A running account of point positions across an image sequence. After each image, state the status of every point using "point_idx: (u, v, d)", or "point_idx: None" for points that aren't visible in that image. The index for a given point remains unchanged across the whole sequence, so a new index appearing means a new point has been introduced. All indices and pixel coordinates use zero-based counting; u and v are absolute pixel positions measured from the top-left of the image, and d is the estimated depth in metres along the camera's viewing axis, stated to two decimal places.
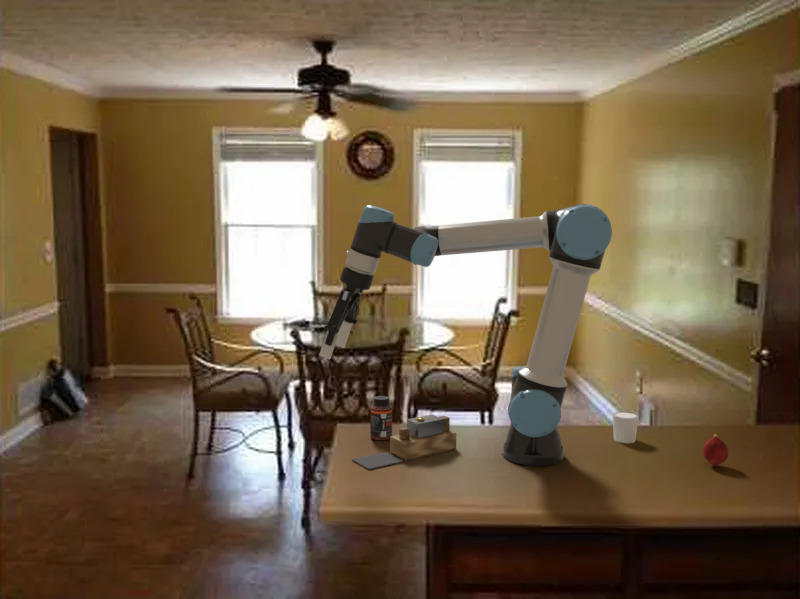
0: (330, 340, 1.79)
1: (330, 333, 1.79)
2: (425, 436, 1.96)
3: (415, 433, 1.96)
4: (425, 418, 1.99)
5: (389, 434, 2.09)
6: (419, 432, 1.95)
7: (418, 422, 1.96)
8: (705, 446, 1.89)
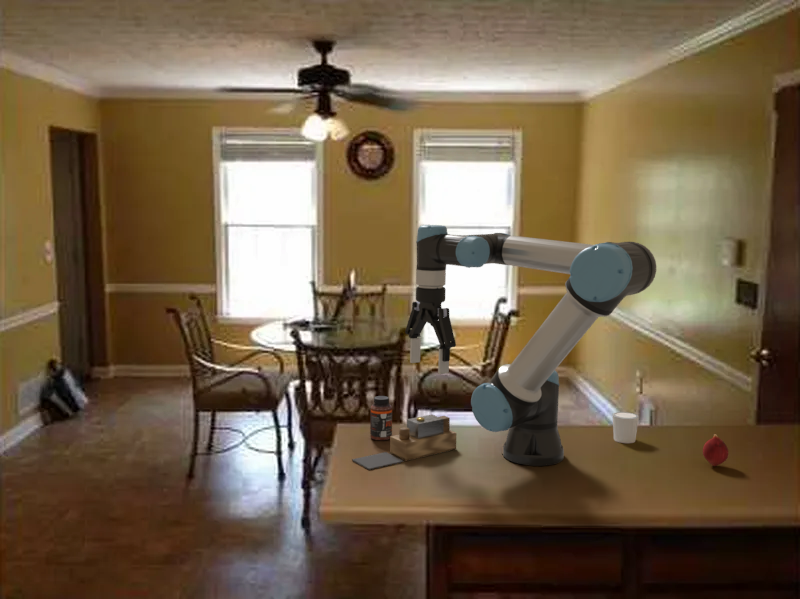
0: None
1: None
2: (425, 436, 1.96)
3: (415, 433, 1.96)
4: (425, 418, 1.99)
5: (389, 434, 2.09)
6: (419, 432, 1.95)
7: (418, 422, 1.96)
8: (705, 446, 1.89)
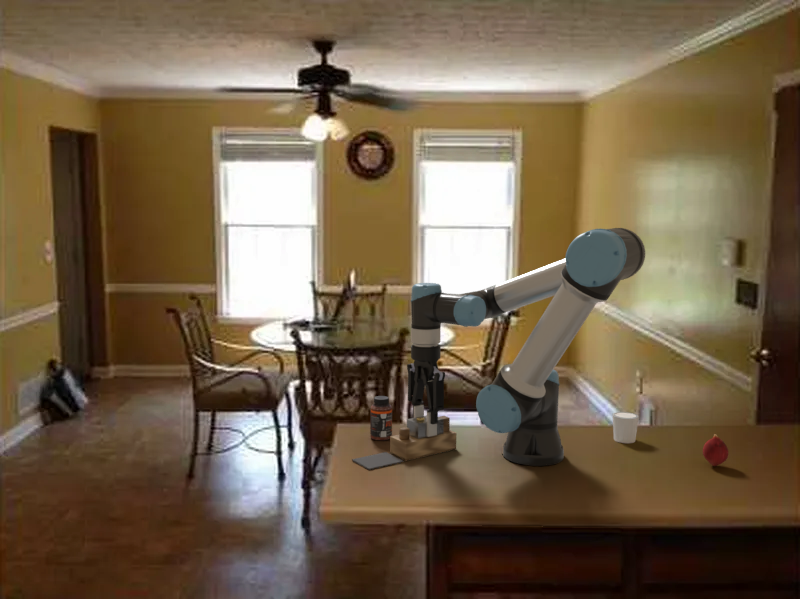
0: None
1: None
2: (425, 436, 1.96)
3: (415, 433, 1.96)
4: (425, 418, 1.99)
5: (389, 434, 2.09)
6: (419, 432, 1.95)
7: (418, 422, 1.96)
8: (705, 446, 1.89)
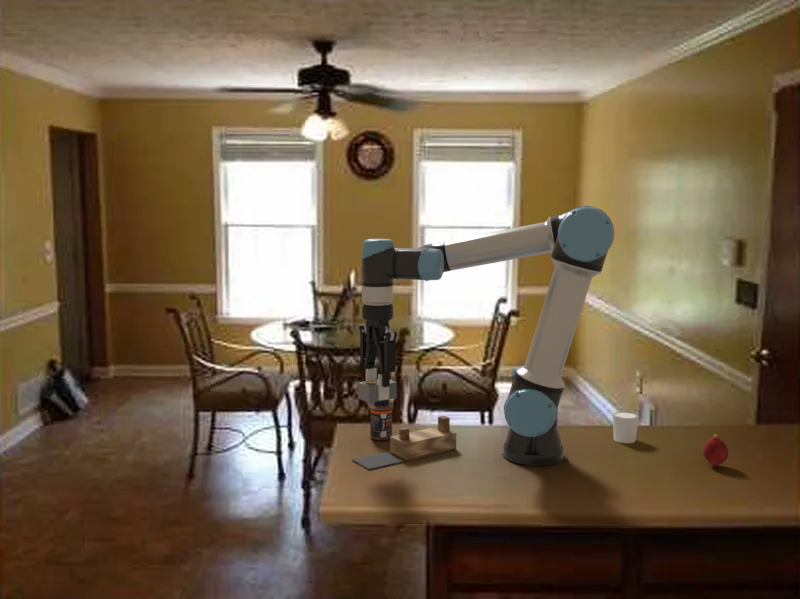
0: None
1: None
2: (377, 400, 1.87)
3: (366, 396, 1.86)
4: (377, 382, 1.90)
5: (389, 434, 2.09)
6: (370, 395, 1.86)
7: (369, 385, 1.86)
8: (705, 446, 1.89)
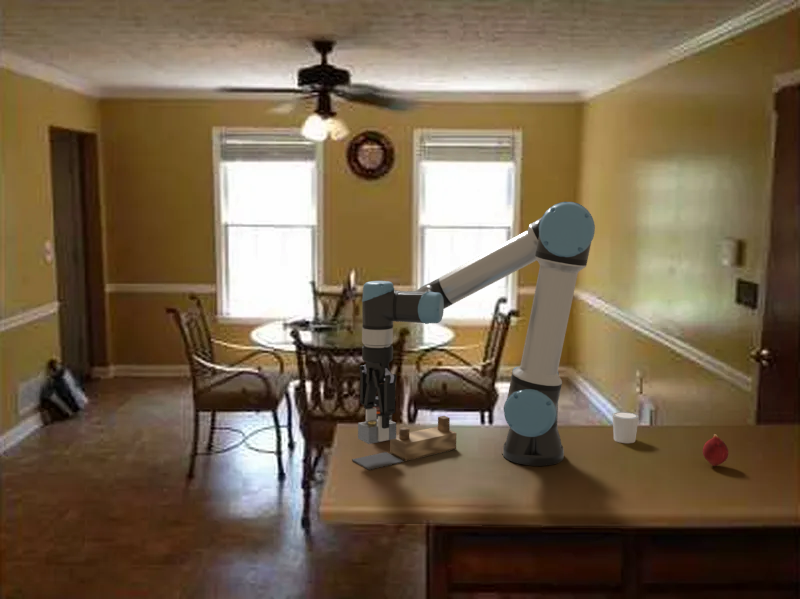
0: None
1: None
2: (376, 441, 1.88)
3: (366, 437, 1.88)
4: (377, 422, 1.91)
5: None
6: (370, 437, 1.87)
7: (369, 426, 1.88)
8: (705, 446, 1.89)
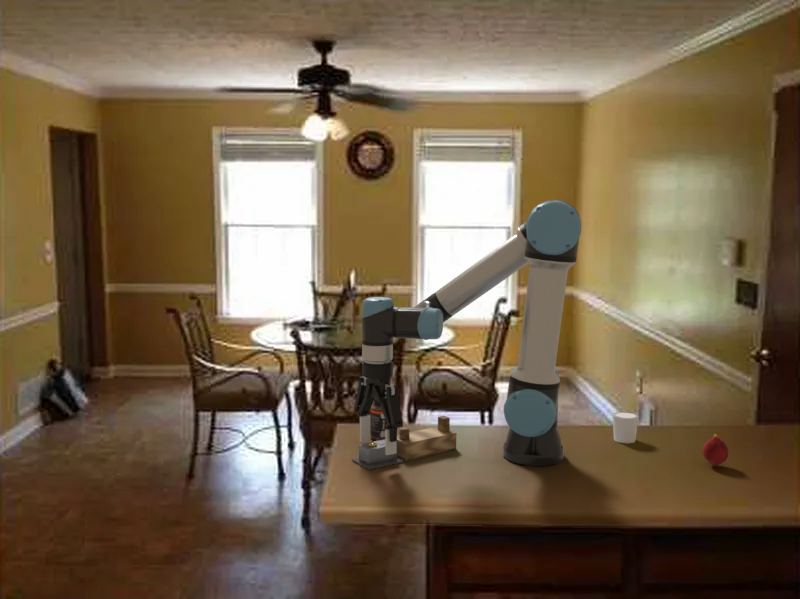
0: None
1: None
2: (377, 462, 1.89)
3: (366, 459, 1.88)
4: (378, 443, 1.92)
5: None
6: (371, 459, 1.88)
7: (370, 448, 1.88)
8: (705, 446, 1.89)
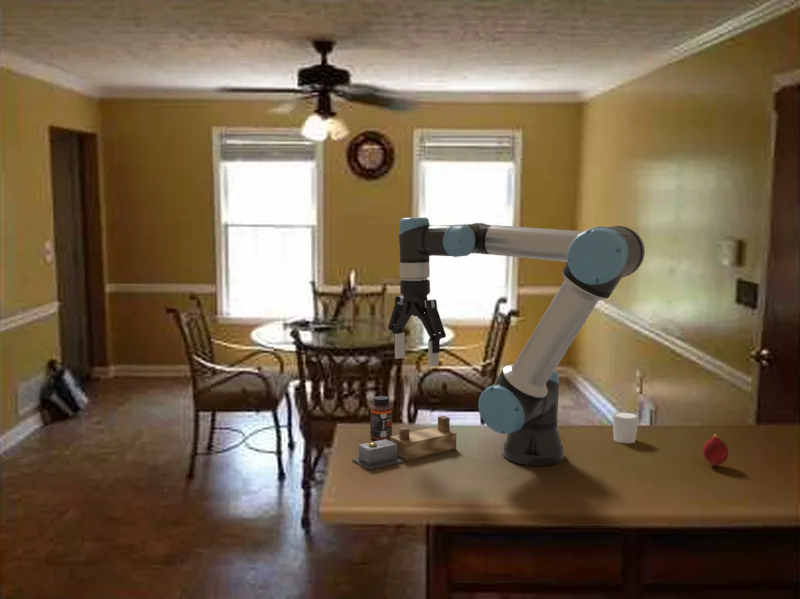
0: None
1: None
2: (377, 462, 1.89)
3: (366, 459, 1.88)
4: (378, 443, 1.92)
5: (389, 434, 2.09)
6: (371, 459, 1.88)
7: (370, 448, 1.88)
8: (705, 446, 1.89)
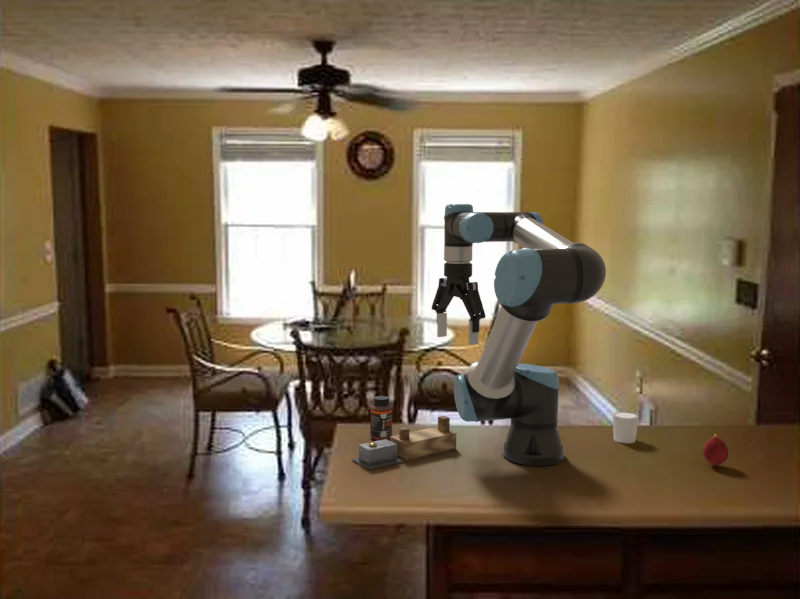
0: None
1: None
2: (377, 462, 1.89)
3: (366, 459, 1.88)
4: (378, 443, 1.92)
5: (389, 434, 2.09)
6: (371, 459, 1.88)
7: (370, 448, 1.88)
8: (705, 446, 1.89)
